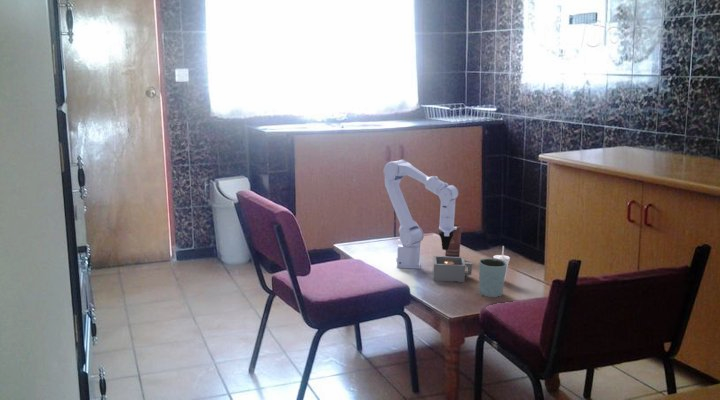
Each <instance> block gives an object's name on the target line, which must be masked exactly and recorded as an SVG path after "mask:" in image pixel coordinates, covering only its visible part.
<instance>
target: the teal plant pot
mask: <svg viewBox="0 0 720 400" xmlns="http://www.w3.org/2000/svg"><path fill="white" fill-rule="evenodd" d="M478 262H479V263H478V264H479V265H478V271H479V272H478V294H479V295H481V296H483V295H484V297H487V296H488V298H496V297H497V298H498V296H499V297H501V296H502V295H503V291H504V283H505V282H504V278H505V273H506V268H507V263H506V262H505V261H502V260H499V259H493V258H482V259H480V260H479V261H478ZM507 269H508V268H507ZM506 274H507V273H506ZM505 279H506V278H505Z"/></svg>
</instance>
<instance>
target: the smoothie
mask: <svg viewBox="0 0 720 400" xmlns="http://www.w3.org/2000/svg"><path fill="white" fill-rule="evenodd" d="M504 252H505V246H504V245H502V251H501V254H496V255H493V258H492V259H499V260H502V261H505V262H506V263H507V268H506V273H505V278H504V283H505V282H506V277H507V273H508V267H509V262H510V260H511V257H510V256H508V255H505V253H504Z"/></svg>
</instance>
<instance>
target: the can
mask: <svg viewBox="0 0 720 400" xmlns="http://www.w3.org/2000/svg"><path fill="white" fill-rule="evenodd" d="M454 227H457V230H453V236H452V238H451V240H450V244H449V248H448V250H445V253H444V256H447V257H461V256H460V253H461V238H462V237H461V236H462V232H463V231H462V227H461V225H458V224H454Z"/></svg>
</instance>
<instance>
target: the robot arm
mask: <svg viewBox="0 0 720 400" xmlns="http://www.w3.org/2000/svg"><path fill="white" fill-rule="evenodd" d="M382 172H383V175H384V187H385V190H386V192H387V195H388V197H389V199H390V200H389V201H390V202H391V204H392V206H393V210H394V212H395V216H396V217H397V219H398V223H399V228H398V232H399V241H400V244H397V255H396V260H395V261H396V268H397V269H416V270H417V269H419V270H420V269H421V262H420V258H421V257H420V256H421V244H422V243H421V242H422V241H423V239H424V236H425V234H424V231H423V230H422V228H421V227H420V226H419V224H418V223H417V221H415V220H414V219H413V217H412V215H411V213H410V212H411V211H410V210H409V207H408V204H407V202H406V199H405V197H404V195H403V191H402V190H401V187H400V183H401V181H402V179H403V178H404V177H405V176H408V177H410V178H412V179H414V180H416V181H418V182H420V183H422V184H423V185H424V188H425V189H426V190H427V191H429V192H431V193H433V195H436V196H438V198H439V201H440V208H439V210H440V211H439V226H438V230H439V231H438V234H439V237H440V240H441V250H442V251H446V250H448V248H449V244H450V240H451V238H452V236H453V230H457V227H454V225H455V215H456V214H455V213H456V200H457V198H458V197H459V189H458V187H456V186H455V185H454V184H450V185H449V184H448V182H444V181H442V180H441V179H439V177H438V176H437V175H431V176H429V175H427V174H425V173H424V172H423V171H420V169H418V168H417V167H415V166H414V165H412V164H411V162H409V161H406V160H404V159H399V160H395V161H394V160H393V161H389V162H387V163H386V164H385V165H384V167H383V170H382Z"/></svg>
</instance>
